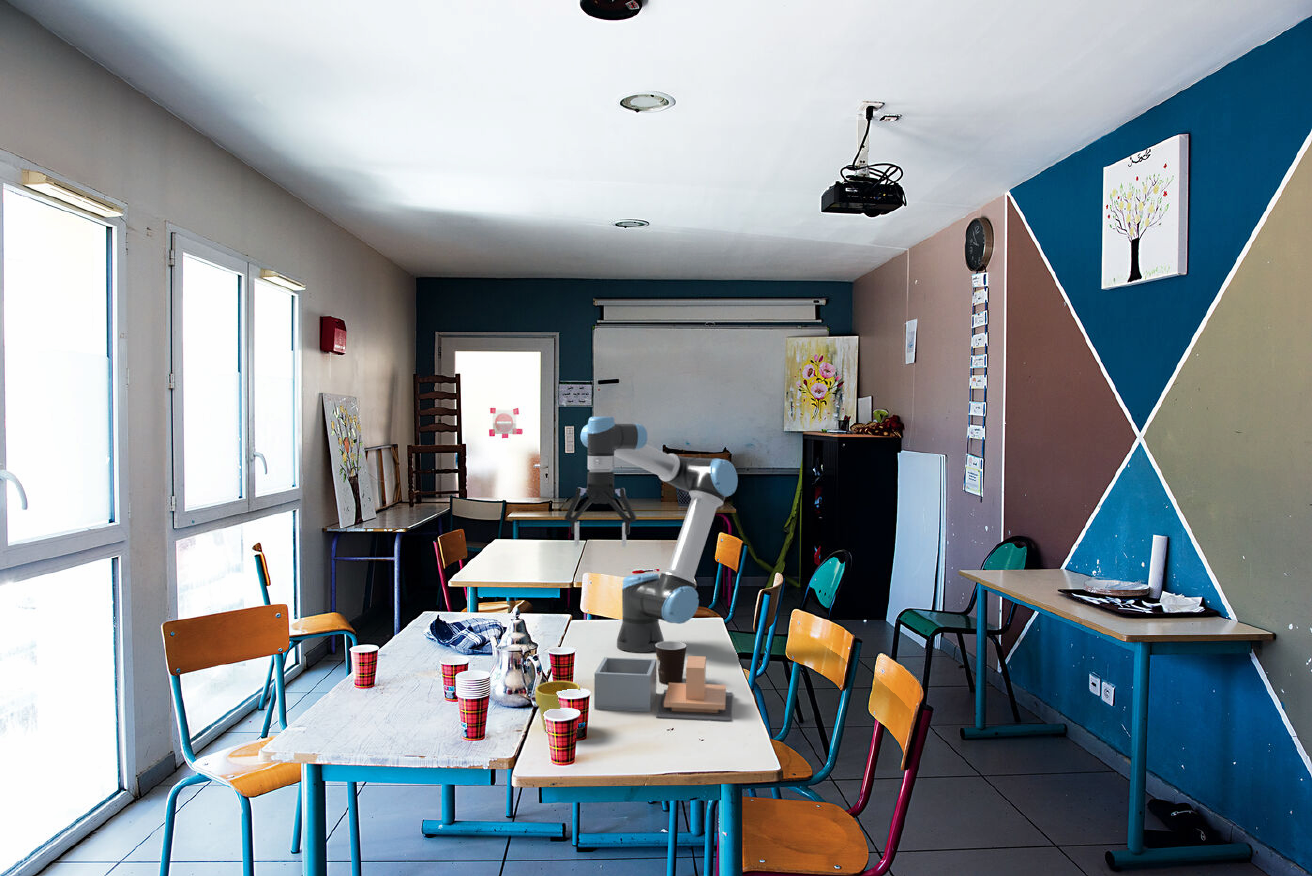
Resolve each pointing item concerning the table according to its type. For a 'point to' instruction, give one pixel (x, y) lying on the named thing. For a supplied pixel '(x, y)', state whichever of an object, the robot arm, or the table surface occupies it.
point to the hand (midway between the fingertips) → (600, 545)
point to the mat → (720, 716)
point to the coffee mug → (670, 661)
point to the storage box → (625, 684)
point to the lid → (695, 690)
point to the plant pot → (551, 695)
